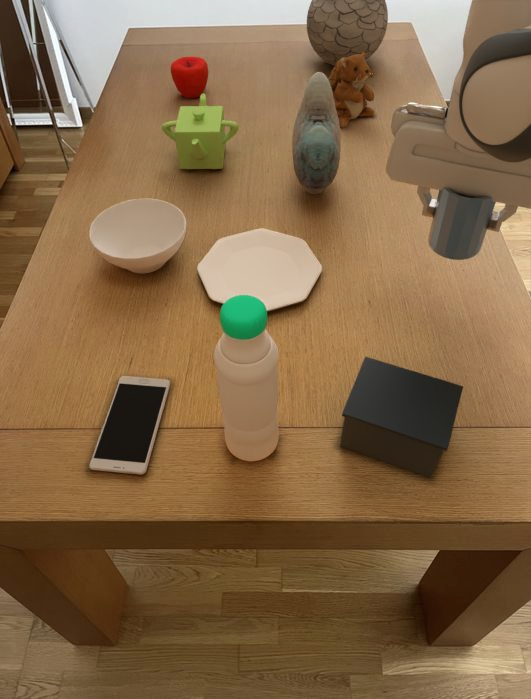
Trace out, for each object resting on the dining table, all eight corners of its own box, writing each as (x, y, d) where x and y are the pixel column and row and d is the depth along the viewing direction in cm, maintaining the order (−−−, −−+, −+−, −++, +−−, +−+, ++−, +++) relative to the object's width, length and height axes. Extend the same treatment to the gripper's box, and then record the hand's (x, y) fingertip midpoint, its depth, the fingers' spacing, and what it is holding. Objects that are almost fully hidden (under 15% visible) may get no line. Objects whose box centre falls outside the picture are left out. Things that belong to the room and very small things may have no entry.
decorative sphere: (297, 76, 142) (299, -14, 127) (314, 44, 155) (317, -41, 139) (375, 85, 139) (387, -7, 123) (386, 51, 151) (398, -36, 136)
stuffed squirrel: (343, 130, 125) (348, 70, 115) (309, 104, 133) (311, 45, 123) (379, 119, 128) (388, 59, 118) (344, 94, 136) (349, 35, 126)
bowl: (80, 277, 96) (69, 245, 90) (129, 222, 105) (121, 190, 100) (164, 301, 92) (157, 268, 86) (206, 241, 101) (202, 209, 96)
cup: (485, 233, 75) (504, 174, 68) (475, 265, 71) (494, 205, 64) (434, 222, 77) (448, 163, 70) (422, 252, 73) (435, 192, 66)
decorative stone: (339, 220, 104) (349, 117, 89) (290, 219, 105) (292, 116, 89) (335, 159, 118) (344, 60, 102) (292, 158, 118) (294, 59, 103)
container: (448, 421, 76) (463, 386, 70) (433, 481, 70) (447, 448, 64) (358, 392, 79) (365, 356, 73) (336, 447, 74) (342, 413, 68)
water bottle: (268, 470, 72) (264, 342, 53) (217, 454, 73) (195, 324, 54) (285, 426, 76) (288, 292, 57) (237, 411, 78) (224, 276, 58)
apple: (195, 82, 141) (192, 49, 135) (218, 94, 137) (215, 60, 131) (166, 94, 138) (161, 61, 132) (188, 106, 133) (184, 73, 127)
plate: (187, 252, 99) (186, 246, 98) (291, 226, 103) (291, 219, 102) (222, 330, 87) (221, 323, 86) (337, 296, 91) (338, 290, 90)
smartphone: (171, 379, 80) (144, 473, 71) (171, 381, 81) (145, 476, 71) (119, 374, 81) (86, 468, 71) (120, 377, 82) (88, 470, 72)
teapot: (207, 134, 125) (202, 86, 117) (251, 156, 119) (249, 107, 111) (155, 163, 118) (146, 114, 110) (199, 187, 112) (193, 138, 104)
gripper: (386, 112, 62) (373, 217, 72) (588, 147, 56) (541, 255, 66) (402, 87, 65) (387, 190, 76) (593, 117, 59) (548, 224, 70)
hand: (460, 221), depth 71 cm, fingers closed on cup, 7 cm apart
